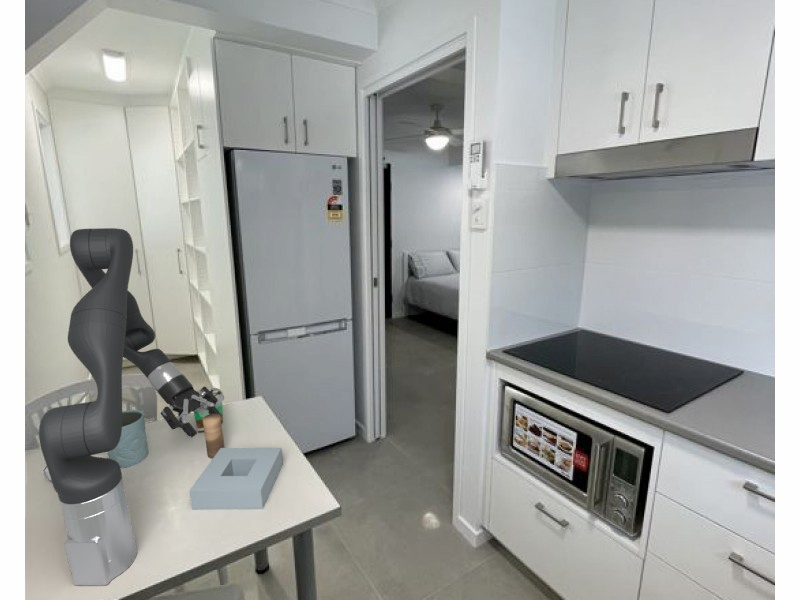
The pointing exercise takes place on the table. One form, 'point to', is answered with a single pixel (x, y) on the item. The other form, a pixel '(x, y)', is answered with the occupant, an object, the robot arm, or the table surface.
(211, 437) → the peg
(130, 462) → the teal plant pot
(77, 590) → the table surface
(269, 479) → the socket block
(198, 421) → the food container
